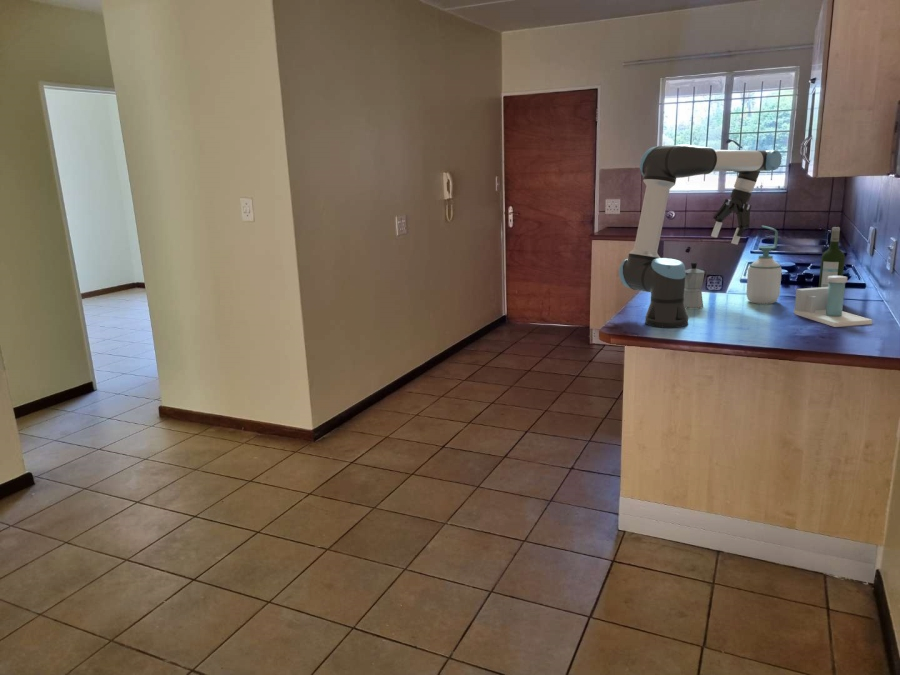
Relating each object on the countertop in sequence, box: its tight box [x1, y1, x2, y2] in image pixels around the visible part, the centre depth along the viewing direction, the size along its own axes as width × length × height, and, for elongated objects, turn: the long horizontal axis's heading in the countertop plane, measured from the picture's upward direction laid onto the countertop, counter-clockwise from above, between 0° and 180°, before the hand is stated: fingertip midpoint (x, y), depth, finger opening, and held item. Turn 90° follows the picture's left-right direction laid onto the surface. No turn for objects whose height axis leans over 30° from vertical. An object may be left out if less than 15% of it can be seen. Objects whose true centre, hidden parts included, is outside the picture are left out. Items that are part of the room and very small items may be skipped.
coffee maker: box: [684, 262, 707, 309], centre depth 263 cm, size 15×9×18 cm, turn 129°
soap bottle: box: [746, 224, 783, 305], centre depth 262 cm, size 12×12×31 cm
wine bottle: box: [818, 226, 846, 287], centre depth 255 cm, size 8×8×30 cm
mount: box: [793, 286, 873, 328], centre depth 234 cm, size 22×14×10 cm, turn 7°
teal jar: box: [826, 275, 848, 316], centre depth 232 cm, size 6×6×14 cm
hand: (723, 240), depth 273 cm, fingers open, 13 cm apart
